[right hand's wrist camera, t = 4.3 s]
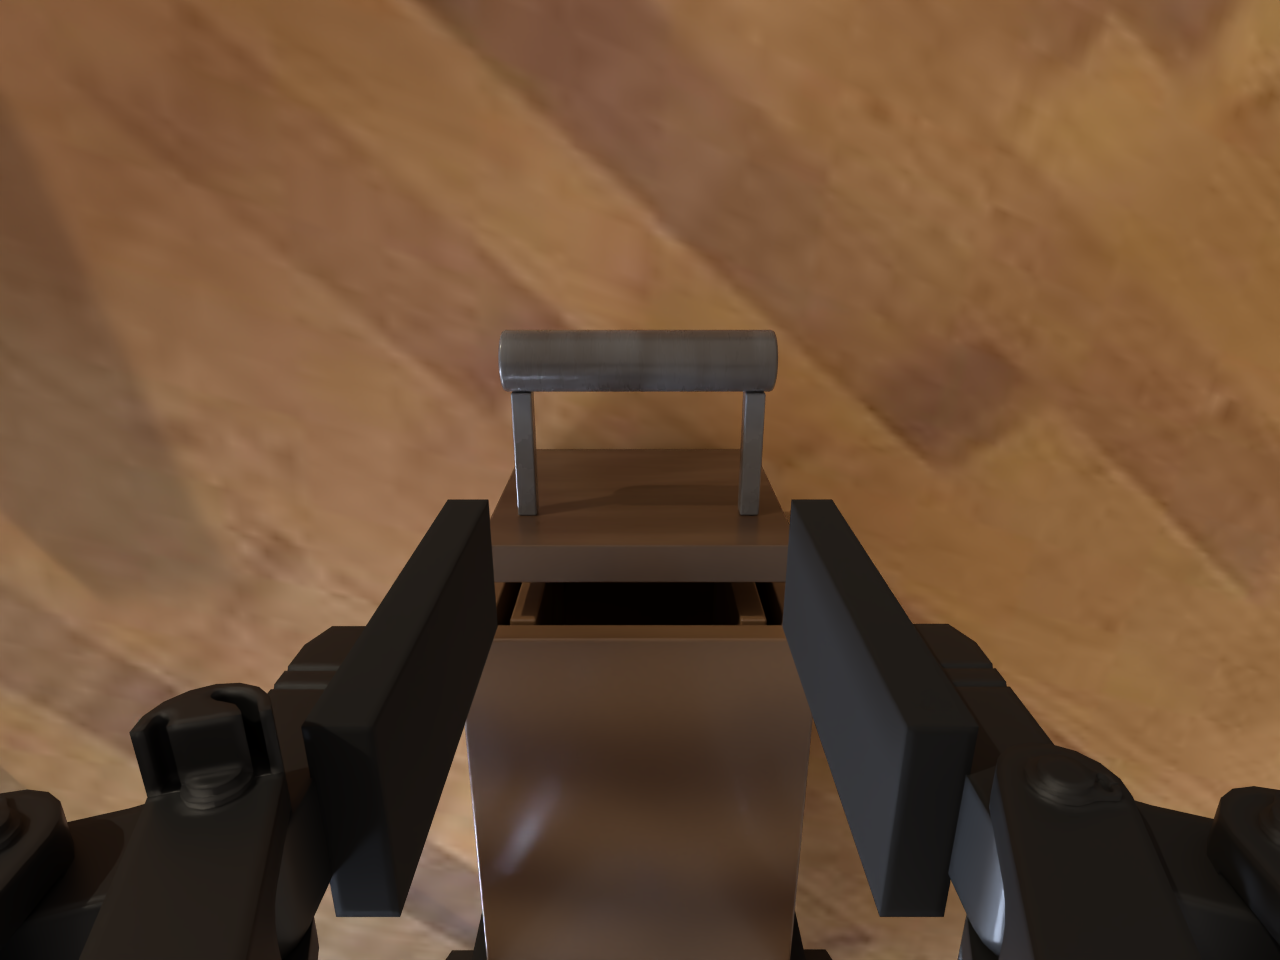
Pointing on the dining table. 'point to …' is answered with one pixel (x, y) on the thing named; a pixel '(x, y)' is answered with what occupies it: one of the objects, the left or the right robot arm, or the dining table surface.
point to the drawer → (638, 487)
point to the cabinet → (639, 788)
